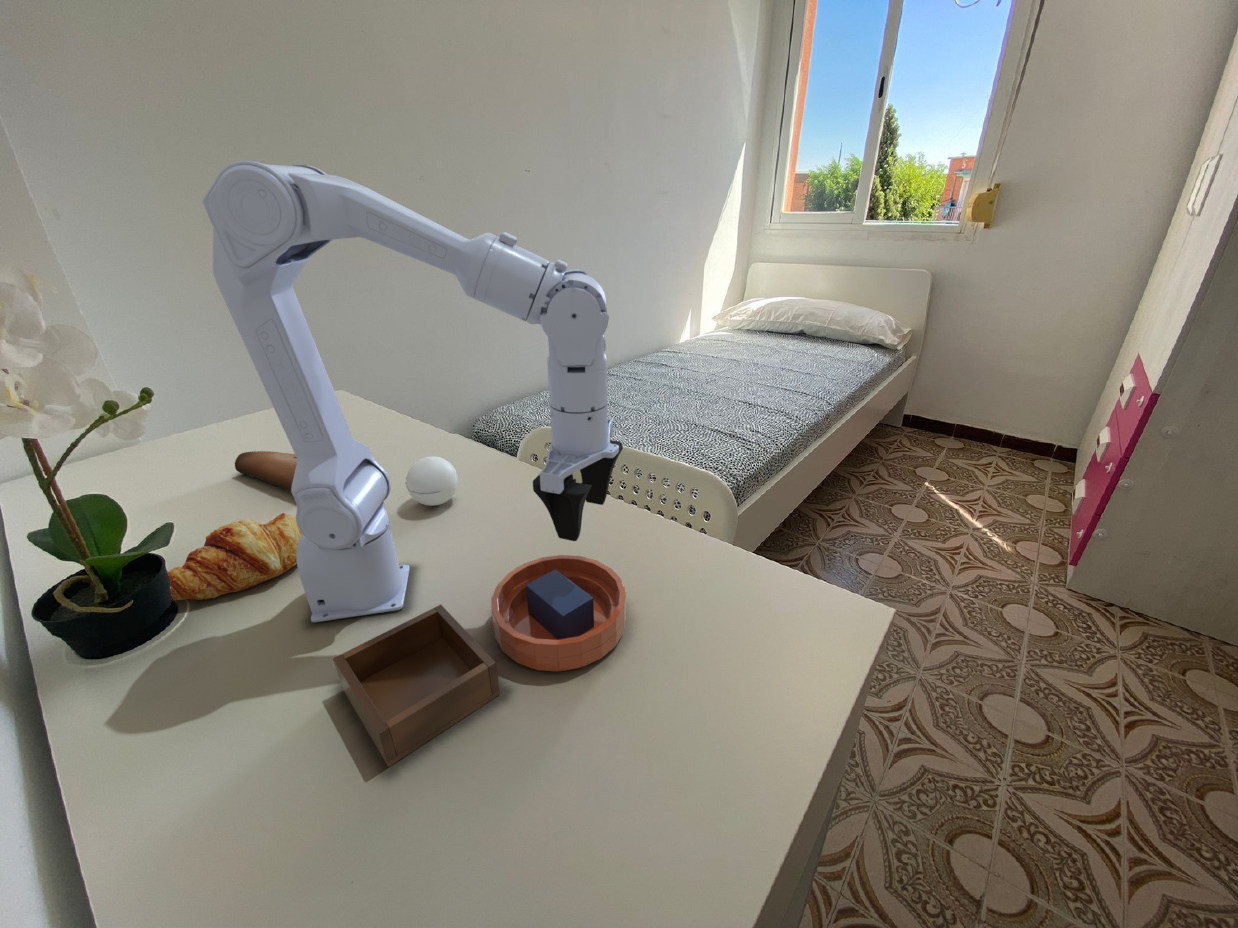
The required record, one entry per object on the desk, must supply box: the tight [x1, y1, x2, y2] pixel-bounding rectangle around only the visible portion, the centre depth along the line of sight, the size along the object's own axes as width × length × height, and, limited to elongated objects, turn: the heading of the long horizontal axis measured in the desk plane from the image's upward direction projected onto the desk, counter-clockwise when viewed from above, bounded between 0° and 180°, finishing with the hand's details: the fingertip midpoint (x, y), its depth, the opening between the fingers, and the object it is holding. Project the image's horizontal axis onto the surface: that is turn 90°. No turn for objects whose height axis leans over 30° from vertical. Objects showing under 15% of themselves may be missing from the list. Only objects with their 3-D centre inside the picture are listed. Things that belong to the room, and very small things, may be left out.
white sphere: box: [398, 456, 459, 507], centre depth 80 cm, size 10×7×7 cm
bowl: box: [490, 554, 627, 672], centre depth 58 cm, size 14×14×4 cm
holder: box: [332, 604, 501, 768], centre depth 50 cm, size 11×11×4 cm
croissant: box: [166, 512, 302, 601], centre depth 67 cm, size 21×10×8 cm, turn 141°
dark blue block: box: [526, 569, 594, 640], centre depth 58 cm, size 4×6×4 cm, turn 43°
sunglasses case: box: [234, 450, 297, 494], centre depth 88 cm, size 18×7×7 cm, turn 61°
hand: (582, 519), depth 60 cm, fingers open, 7 cm apart
